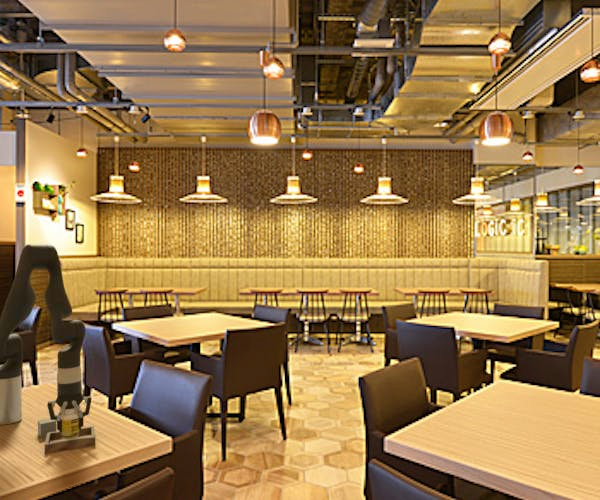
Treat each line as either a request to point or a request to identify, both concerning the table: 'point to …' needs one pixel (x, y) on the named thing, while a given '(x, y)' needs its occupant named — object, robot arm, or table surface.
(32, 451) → the table surface
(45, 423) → the blue-grey cube
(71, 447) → the walnut tray
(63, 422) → the supplement bottle
